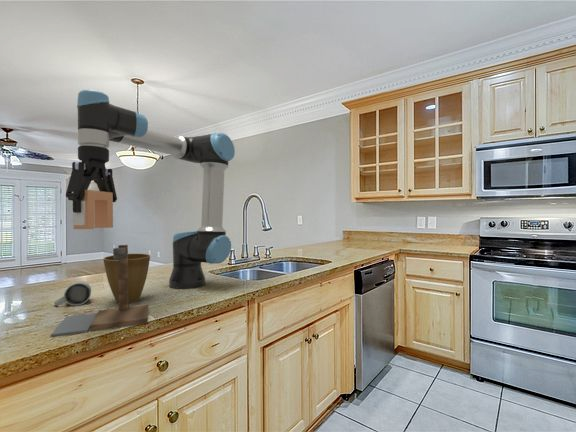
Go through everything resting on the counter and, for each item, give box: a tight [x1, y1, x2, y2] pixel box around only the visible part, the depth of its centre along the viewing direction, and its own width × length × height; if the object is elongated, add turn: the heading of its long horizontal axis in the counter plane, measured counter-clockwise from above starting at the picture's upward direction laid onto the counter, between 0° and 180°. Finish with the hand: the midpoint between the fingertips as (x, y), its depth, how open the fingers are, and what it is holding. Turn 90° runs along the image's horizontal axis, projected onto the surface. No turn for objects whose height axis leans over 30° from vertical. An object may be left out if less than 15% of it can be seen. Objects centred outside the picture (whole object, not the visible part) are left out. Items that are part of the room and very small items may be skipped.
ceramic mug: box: [53, 280, 92, 307], centre depth 108 cm, size 11×8×8 cm
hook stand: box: [89, 244, 149, 332], centre depth 91 cm, size 14×15×22 cm
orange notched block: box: [72, 189, 114, 230], centre depth 88 cm, size 11×4×10 cm, turn 178°
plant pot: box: [102, 253, 151, 304], centre depth 111 cm, size 15×15×16 cm
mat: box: [50, 312, 98, 338], centre depth 87 cm, size 8×15×1 cm, turn 23°
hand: (94, 224), depth 88 cm, fingers closed on orange notched block, 11 cm apart
